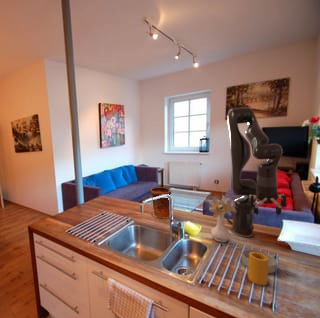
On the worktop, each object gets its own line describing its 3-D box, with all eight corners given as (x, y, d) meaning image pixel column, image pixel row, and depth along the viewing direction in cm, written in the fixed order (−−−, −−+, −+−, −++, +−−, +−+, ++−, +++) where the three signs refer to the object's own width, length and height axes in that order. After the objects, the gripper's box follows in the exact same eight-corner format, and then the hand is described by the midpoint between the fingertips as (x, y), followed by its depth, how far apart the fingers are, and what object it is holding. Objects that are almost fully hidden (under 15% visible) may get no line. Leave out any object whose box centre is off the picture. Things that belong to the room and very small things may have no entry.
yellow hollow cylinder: (244, 274, 88) (245, 251, 86) (259, 275, 87) (261, 251, 85) (254, 285, 82) (256, 260, 80) (271, 285, 81) (272, 260, 79)
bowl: (235, 256, 100) (235, 249, 99) (262, 257, 98) (263, 249, 98) (252, 273, 88) (253, 265, 88) (284, 274, 86) (284, 265, 86)
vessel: (150, 218, 148) (149, 192, 146) (151, 210, 161) (151, 186, 159) (171, 220, 143) (171, 193, 140) (171, 212, 156) (170, 187, 153)
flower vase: (207, 245, 111) (207, 202, 107) (208, 230, 126) (208, 192, 122) (236, 252, 103) (238, 205, 100) (234, 235, 118) (235, 194, 115)
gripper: (281, 180, 100) (281, 210, 102) (246, 182, 105) (246, 210, 108) (290, 186, 93) (289, 218, 96) (252, 187, 98) (252, 217, 101)
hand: (266, 214), depth 102 cm, fingers open, 8 cm apart
